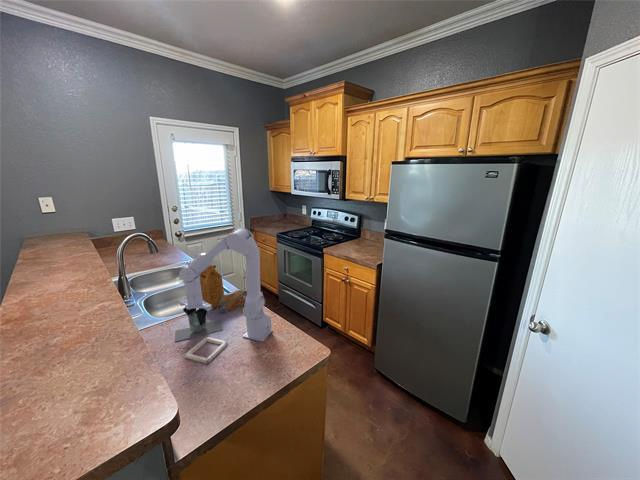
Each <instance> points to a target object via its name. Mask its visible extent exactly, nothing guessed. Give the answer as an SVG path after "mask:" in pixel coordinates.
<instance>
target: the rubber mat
mask: <svg viewBox="0 0 640 480" xmlns="http://www.w3.org/2000/svg"><path fill="white" fill-rule="evenodd" d="M206 323H207V326H206V327H205V328H203V329H202V330H201V331H200V332H194V331H190V326H189V327H185V328H181V329H178V330H175V333H174V343H178V342H182V341H186V340H191V339H194V338H198V337H202V336H206V335H210V334H213V333H217V332H221V331H224V329H223V325H222V320H221V319H219V320H215V321H211V322H206Z"/></svg>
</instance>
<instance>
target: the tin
mask: <svg viewBox="0 0 640 480" xmlns="http://www.w3.org/2000/svg"><path fill="white" fill-rule="evenodd" d="M246 296H247V292H245V291H244V290H241V289H237V290H233V291H231V292H229V293H224V295H223V296H221V297H220V298H219V299H218V300H217V306H216V308H217V310H218V311H219V312H220V313H223V314H227V313H230V312H231V311H232V312H233V311H234V310H237V309H239V308H242V307H244V306H245V300H246Z"/></svg>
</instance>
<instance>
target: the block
mask: <svg viewBox="0 0 640 480" xmlns="http://www.w3.org/2000/svg"><path fill="white" fill-rule="evenodd" d="M197 310H198V309H196V311H197ZM196 311H195V312H196ZM195 312H193V313H192V314H190V315H188V316H187V318H188V324H189V327H190V331H194V332H200V331H201V330H202V329H203V328H205V327H206V326H207V323H208V322H207V317H206V318H205V323H204V324H203V325H200V323H199V319H198V316H197V315H196V313H195Z"/></svg>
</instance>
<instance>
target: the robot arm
mask: <svg viewBox="0 0 640 480" xmlns="http://www.w3.org/2000/svg"><path fill="white" fill-rule="evenodd" d="M253 235H254V234H253V233H252V232H251V231H250V230H248V229H247V228H244V227H239V228H238V229H236V230H234V232H231V233H229V234H228V235H226V236H225V237H223V238H221V239H219V241H218V242H217V243H216V244H215V245H213V246H212V247H211V248H210V249H209V250H208V251H207V252H201V253H197V254H196V255H195V258H194V259H193V260H192V261H188V263H187V265H186V266H184V267H183V268H181V270H179V277H180V279H181V280H182V281H183V285H184V292H185V297H186V299H181V300H180V301H179V304H180V306H181V307H182V306H185V307H184V308H183V310H182V311H183V312H184V313H185V314H186V315H187V317H188V315H190V314H192V313H193V312H195V311H196V310H197V311H196V312H195V313H196V315H197V316H198V319H199V323H200V325H203V324H204V323H205V318H206V319H207V314H208V312H210V311H211V310H213V309H212V306H211V305H210V304H208V303H206V302H205V301H203V299H202V292H201V285H200V274H201V273H202V272H203V271H204V270H205V269H207V268H208V267H209V266H210V265H213V261H214V260H213V259H214V258H216V256H218V255H219V254H221V252H223V251H224V250H227V251H228V250H232V251H235V252H237V253H239V254H241V255H243V256H244V257H245V273H246V274H245V275H246V276H245V277H246V294H247V296H246V300H245V304H244V306H243V308H242V314H243V316H244V317H245V322H246V332H245V333H244V334H243V335H242V337H243V338H247V339H251V340H254V341H260V342H264V341H265V340H266V339H267V338H268V337H269V335H270V334H271V333H272V332H273V328H272V318H271V317H270V315H267V314H265V310H264V306H265V304H266V299H265V297H264V295H263V292H262V291H261V261H260V260H261V257H260V256H261V254H260V253H261V252H260V248H259V246H258V244H257V243H256V240H255V239H254V236H253Z"/></svg>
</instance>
